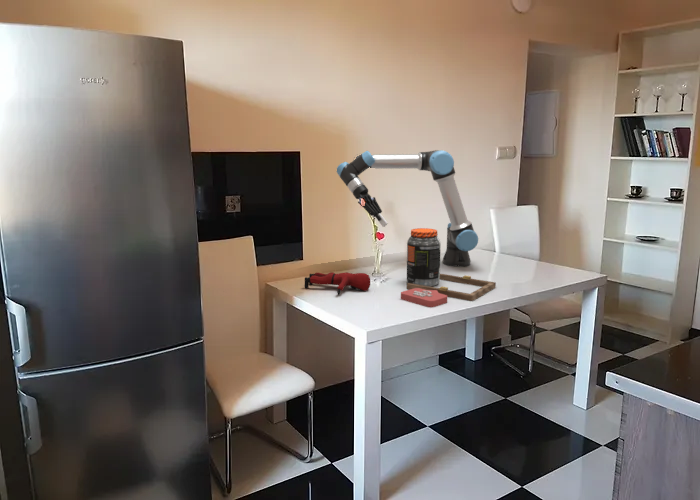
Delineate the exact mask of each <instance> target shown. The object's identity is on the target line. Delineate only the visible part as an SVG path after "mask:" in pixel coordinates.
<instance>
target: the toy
mask: <svg viewBox="0 0 700 500" xmlns="http://www.w3.org/2000/svg"><path fill="white" fill-rule="evenodd" d="M312 285H319V286H321V285H322V286H323V285H325V286H326V285H327V286H328V285H329V286H330V285H332V286H337V288H336V289H337V296H339V295H340V294H341V292H342V291H343V290H344V289H345V288H346V287H347V286H350V288H351V289H352V290H355V291H361V292H368V290H369V288H370V287H371V278H370V275H369V274H368V273H364V272H355V273H352V272H347V271H346V272H338V273H335V272H333V271H332V272H328V273H321V272H315V273H309V276H308V277H307V276H306V277H304V289H306V290H307V289H309V286H312Z"/></svg>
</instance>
